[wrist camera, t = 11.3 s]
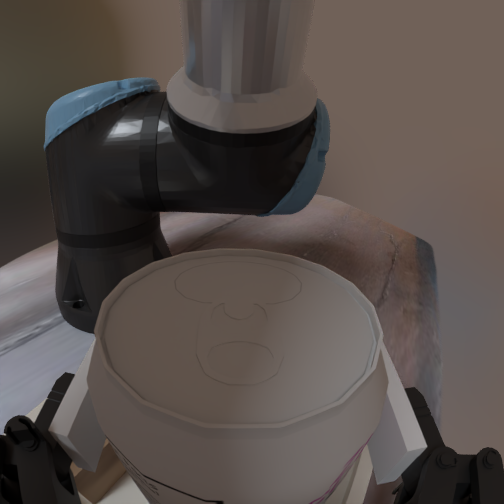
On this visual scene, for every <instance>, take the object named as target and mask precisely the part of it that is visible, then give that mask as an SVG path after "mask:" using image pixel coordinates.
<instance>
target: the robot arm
mask: <svg viewBox="0 0 504 504" xmlns="http://www.w3.org/2000/svg"><path fill="white" fill-rule="evenodd" d="M314 2H315V0H180V15H181V32H182V46H183V58H184V66H183V67H182V68H181V69H180V70H179V71H177V72H176V73H175V74H174V75H173V77H172V78H171V79H170V81H169V83H168V86H167V91H166V92H160V86H159V85H158V82H157V81H156V80H155V79H153V78H130V79H125V80H120V81H110V82H105V83H101V84H97V85H93V86H89V87H86V88H83V89H80V90H77V91H74V92H72V93H69V94H67V95H65V96H63V97H61V98H59V99H58V100H57V101H55V102H54V103H53V105H52V106H51V107H50V109H49V110H48V112H47V115H46V132H45V143H44V150H45V151H46V160H47V171H48V180H49V188H50V196H51V203H52V210H53V216H54V222H55V227H56V233H57V239H58V257H57V270H56V287H55V292H56V298H57V302H58V305H59V308H60V311H61V314H62V316H63V318H64V319H65V320H66V321H67V322H68V323H69V324H70V325H72V326H73V327H75V328H77V329H80V330H82V331H85V332H89V333H94V329H95V325H96V322H97V318H98V315H99V311H100V308H101V305H102V302H103V300H104V299H105V298H106V297H107V296H108V295H109V294H110V293H111V292H112V290H113V289H114V288H115V287H116V286H117V285H118V284H119V283H120V282H121V281H122V280H123V279H124V278H126V277H127V276H129V275H131V274H133V273H134V272H136V271H138V270H140V269H141V268H143V267H145V266H147V265H148V264H150V263H152V262H155V261H159V260H162V259H165V258H169V257H172V255H171V253H170V250H169V248H168V246H167V243H166V241H165V238H164V236H163V233H162V231H161V227H160V213H159V212H195V213H219V214H239V215H256V216H259V217H264V216H269V215H288V214H294V213H297V212H299V211H301V210H302V209H303V208H305V207H306V206H307V205H308V204H309V202H310V201H311V200H312V198H313V196H314V195H315V193H316V191H317V189H318V187H319V184H320V182H321V179H322V176H323V173H324V170H325V165H326V163H325V155H326V153H327V152H328V149H329V141H330V121H329V115H328V111H327V109H326V106H325V104H324V103H323V102H322V101H321V100H320V99H318V98H317V89H316V86H315V85H314V83H313V81H312V80H311V78H310V77H309V76H308V75H307V74H306V73H305V72H304V71H303V70H302V68H303V62H304V57H305V52H306V47H307V41H308V36H309V30H310V24H311V19H312V13H313V8H314ZM95 341H96V338H95V339H94V341H93V343H92V345H91V346H90V348H89V350H88V352H87V354H86V356H85V357H84V359H83V361H82V363H81V365H80V367H79V369H78V371H77V372H76V374H71V373H66V372H65V373H64V374H63V375H62V376H61V377H60V378H58V379H57V380H56V382H55V384H54V386H53V388H52V391H51V392H50V393H49V395H48V397H47V398H48V399H46V401H45V403H44V405H43V407H42V409H41V411H40V412H39V414H38V416H37V418H36V420H35V422H34V423H33V421H32V420H31V419H30V418H28V417H26V416H20V415H18V416H15V417H13V418H11V419H10V420H9V421H8V422H7V424H6V425H5V429H4V433H5V434H6V435H0V504H82V503H81V500H80V497H79V494H78V490H77V487H76V483H75V479H74V475H73V472H72V470H71V468H70V466H71V463H72V461H73V462H74V463H75V465H76V466H77V467H78V468H82V469H85V470H88V471H91V472H96V468H97V465H98V462H99V459H100V456H101V453H102V449H103V446H104V443H105V440H106V436H105V434H104V432H103V430H102V429H101V427H100V425H99V423H98V420H97V417H96V414H95V410H94V407H93V403H92V400H91V396H90V392H89V388H88V384H87V380H86V379H87V375H88V370H89V365H90V361H91V357H92V353H93V348H94V344H95ZM381 351H382V355H383V359H384V363H385V368H386V372H387V376H388V381H389V384H388V388H387V393H386V398H385V402H384V406H383V410H382V415H381V419H380V423H379V424H378V426H377V428H376V429H375V431H374V433H373V434H372V436H371V438H370V439H369V441H368V442H367V446H368V450H369V454H370V457H371V461H372V465H373V469H374V474H375V478H376V482H377V485H378V484H383V483H388V482H392V481H395V480H396V479H397V478H398V477H399V476H400V475H402V479H403V482H402V483H401V484H400V485H399V486H398V487H397V488H395V489H394V491H393V493H392V494H395V493H396V492H398V493H397V496H396V499H395V502H394V504H504V469H503V464H502V458H501V455H500V454H499V452H498V451H497V450H495V449H493V448H489V447H487V448H483V449H482V450H481V451H480V452H479V453H478V454H477V455H460V454H457V453H456V452H455V451H454V450H453V449H451V448H449V447H446V446H445V444H444V443H443V440H442V438H441V436H440V433H439V431H438V428H437V426H436V424H435V421H434V419H433V417H432V416H431V412H430V410H429V408H428V407H427V403H426V401H425V399H424V397H423V395H422V394H421V393H420V392H419V391H418V390H417V389H416V388H415V387H412V388H405V389H404V388H403V385H402V383H401V381H400V378H399V376H398V374H397V372H396V369H395V367H394V365H393V363H392V360H391V358H390V356H389V354H388V352H387V349H386V347H385V345H384V343H383V341H382V344H381Z"/></svg>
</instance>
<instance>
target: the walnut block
mask: <svg viewBox="0 0 504 504" xmlns="http://www.w3.org/2000/svg"><path fill="white" fill-rule="evenodd" d="M70 468H71V470H72V472H73V475H74V479H75V483H76V487H77V490H78V492H79V493H80V494H81V495H82V496H84V497H85V498H86V499H87V500H88V501H90V502H91V503H92V504H96V503H97V502H98V501H99V500H100V499H101V498H102V497H103V496H104V495H105V494H106V493H107V492H108V491H109V490H110V489H111V488H112V487H113V485H114V484H115V483H116V482H117V481H118V480H119V479H120V478H121V477H122V476H123V475H124V474H125V472H126V471H127V470H126V469H125V467H124V466H123V464H122V463H121V461H120V459H119V458H118V456H117V455H116V453H115V451H114V450H113V448H112V446H111V444H110V443H109V441H108V439H107V437H106V440H105V443H104V446H103V449H102V453H101V456H100V459H99V462H98V465H97V468H96V472H91V471H88V470H85V469H82V468H78V467H77V466H76V465H75V463H74V462H73V461H72V463H71V466H70Z"/></svg>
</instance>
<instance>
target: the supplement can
mask: <svg viewBox="0 0 504 504" xmlns="http://www.w3.org/2000/svg"><path fill="white" fill-rule="evenodd" d="M94 334H95V337H96V341H95V344H94V348H93V353H92V357H91V361H90V365H89V370H88V375H87V379H86V380H87V384H88V388H89V392H90V396H91V400H92V403H93V407H94V410H95V414H96V417H97V420H98V423H99V425H100V427H101V429H102V430H103V432H104V434H105V436H106V437H107V439H108V441H109V443H110V444H111V446H112V448H113V450H114V451H115V453H116V455H117V456H118V458H119V459H120V461H121V463H122V464H123V466H124V467H125V469H126V470H127V472H128V473H129V475H130V476H131V478H132V479H133V481H134V482H135V484H136V485H137V487H138V488H139V490H140V491H141V492H142V494H143V495H144V497H145V498H146V499H147V501H148V502H149V503H150V504H324V503H325V502H326V501H327V500H328V498H329V497H330V496H331V494H332V493H333V492H334V490H335V489H336V488H337V486H338V485H339V484H340V482H341V481H342V480H343V478H344V477H345V475H346V474H347V473H348V471H349V470H350V468H351V467H352V465H353V464H354V462H355V461H356V459H357V458H358V456H359V455H360V453H361V452H362V450H363V449H364V447H365V446H366V444H367V442H368V441H369V439H370V438H371V436H372V434H373V433H374V431H375V429H376V428H377V426H378V424H379V423H380V419H381V415H382V410H383V406H384V402H385V398H386V393H387V388H388V384H389V381H388V376H387V372H386V368H385V363H384V359H383V355H382V351H381V344H382V340H383V335H384V334H383V331H382V328H381V325H380V322H379V319H378V316H377V313H376V311H375V308H374V305H373V304H372V303H371V302H370V301H369V300H368V299H367V298H366V297H365V296H364V295H363V294H362V292H361V291H360V290H359V289H358V288H357V287H356V286H355V285H354V284H353V283H352V282H350V281H348V280H347V279H345V278H343V277H342V276H340V275H338V274H337V273H335V272H333V271H332V270H330V269H328V268H326V267H325V266H322V265H319V264H316V263H314V262H311V261H308V260H305V259H302V258H299V257H296V256H293V255H289V254H283V253H277V252H271V251H265V250H259V249H236V248H217V249H209V250H201V251H193V252H186V253H182V254H178V255H175V256H172V257H169V258H165V259H162V260H159V261H155V262H152V263H150V264H148V265H147V266H145V267H143V268H141V269H140V270H138V271H136V272H134V273H133V274H131V275H129V276H127V277H126V278H124V279H123V280H122V281H121V282H120V283H119V284H118V285H117V286H116V287H115V288H114V289H113V290H112V292H111V293H110V294H109V295H108V296H107V297H106V298H105V299H104V300H103V302H102V305H101V308H100V311H99V315H98V318H97V322H96V325H95V329H94Z"/></svg>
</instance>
